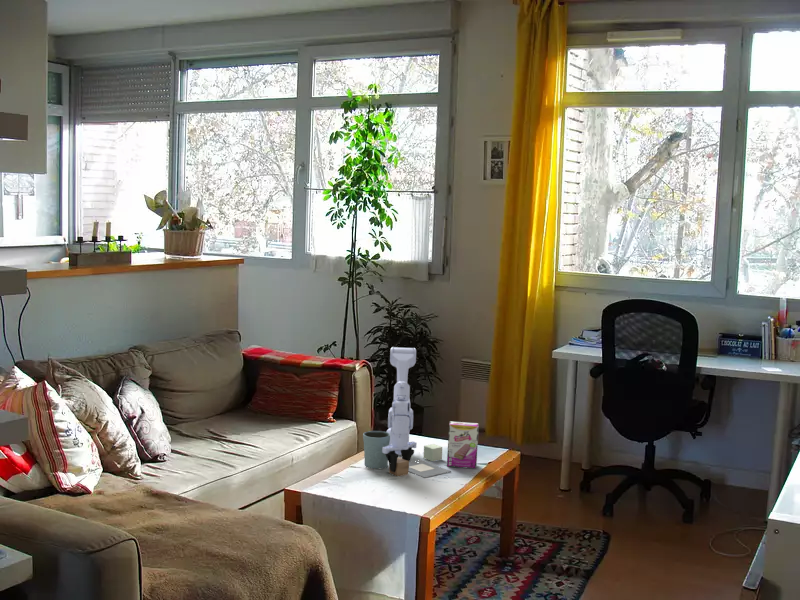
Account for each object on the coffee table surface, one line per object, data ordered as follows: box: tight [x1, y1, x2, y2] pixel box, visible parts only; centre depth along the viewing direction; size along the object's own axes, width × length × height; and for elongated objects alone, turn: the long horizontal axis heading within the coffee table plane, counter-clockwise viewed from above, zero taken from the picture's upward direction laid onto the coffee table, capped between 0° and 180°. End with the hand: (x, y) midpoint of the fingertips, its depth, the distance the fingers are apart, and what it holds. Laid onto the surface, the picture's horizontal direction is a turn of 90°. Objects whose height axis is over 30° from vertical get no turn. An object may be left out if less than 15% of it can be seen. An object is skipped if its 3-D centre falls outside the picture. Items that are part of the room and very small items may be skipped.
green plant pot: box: [362, 430, 390, 470], centre depth 317 cm, size 10×10×12 cm
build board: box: [408, 458, 452, 479], centre depth 315 cm, size 18×13×1 cm
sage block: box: [423, 443, 443, 462], centre depth 328 cm, size 5×5×5 cm
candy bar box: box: [446, 420, 480, 469], centre depth 320 cm, size 11×5×16 cm, turn 84°
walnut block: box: [388, 457, 410, 477], centre depth 308 cm, size 5×5×5 cm
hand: (398, 469), depth 308 cm, fingers closed on walnut block, 5 cm apart
